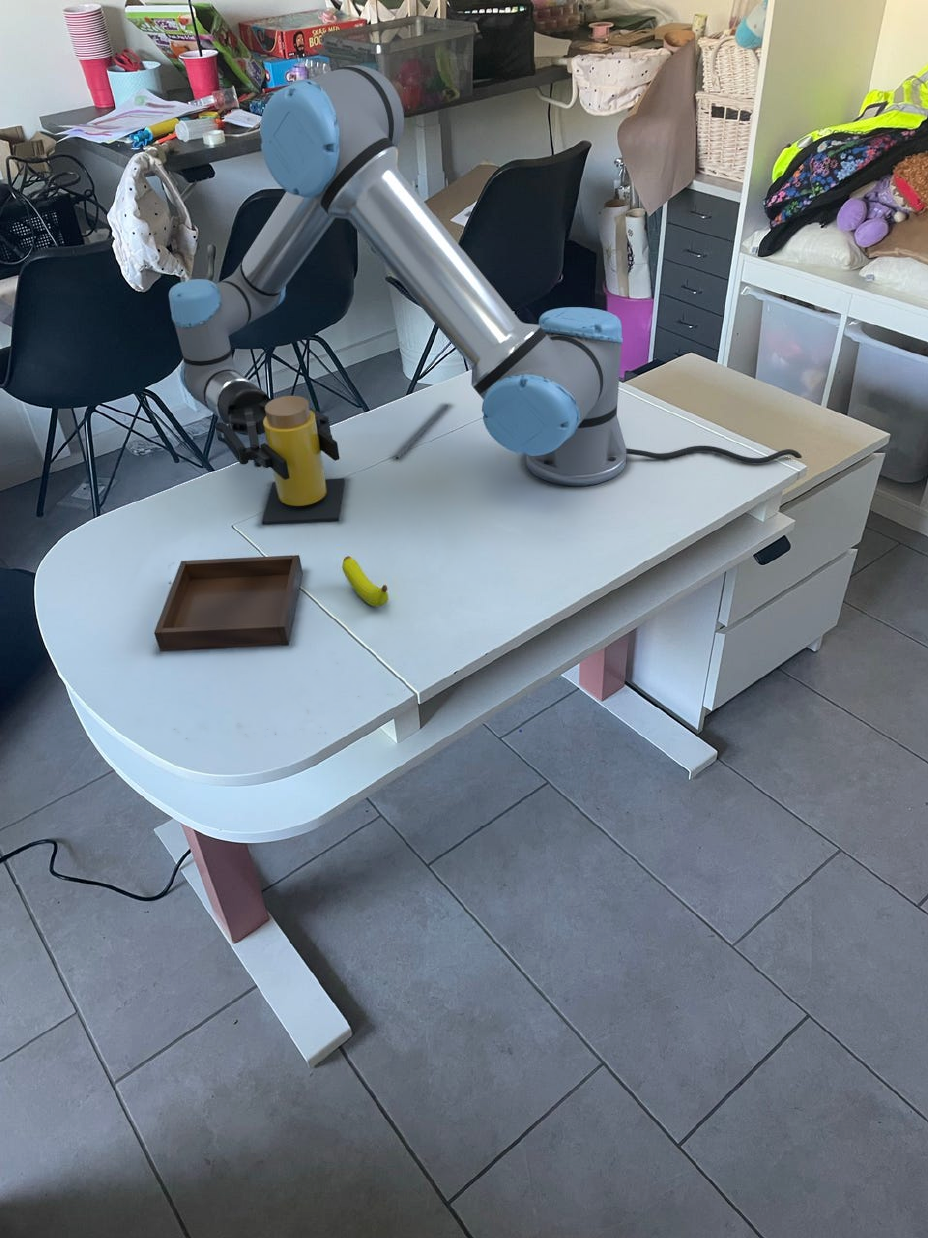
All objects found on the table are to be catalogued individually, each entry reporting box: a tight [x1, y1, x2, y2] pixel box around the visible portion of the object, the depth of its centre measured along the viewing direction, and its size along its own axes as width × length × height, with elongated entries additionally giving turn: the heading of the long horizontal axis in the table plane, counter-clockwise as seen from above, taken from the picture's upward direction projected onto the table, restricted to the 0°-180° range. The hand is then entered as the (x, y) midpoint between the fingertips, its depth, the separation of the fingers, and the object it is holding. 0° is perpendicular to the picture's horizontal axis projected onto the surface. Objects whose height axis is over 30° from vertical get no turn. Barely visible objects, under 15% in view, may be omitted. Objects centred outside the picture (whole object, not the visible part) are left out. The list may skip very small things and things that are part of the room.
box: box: [153, 554, 304, 652], centre depth 114 cm, size 16×15×3 cm
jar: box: [263, 395, 327, 506], centre depth 129 cm, size 7×7×14 cm
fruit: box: [341, 555, 389, 608], centre depth 114 cm, size 10×2×5 cm, turn 36°
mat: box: [261, 477, 346, 526], centre depth 134 cm, size 11×11×1 cm
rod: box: [395, 404, 449, 460], centre depth 150 cm, size 1×19×1 cm, turn 157°
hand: (311, 460), depth 125 cm, fingers closed on jar, 7 cm apart
